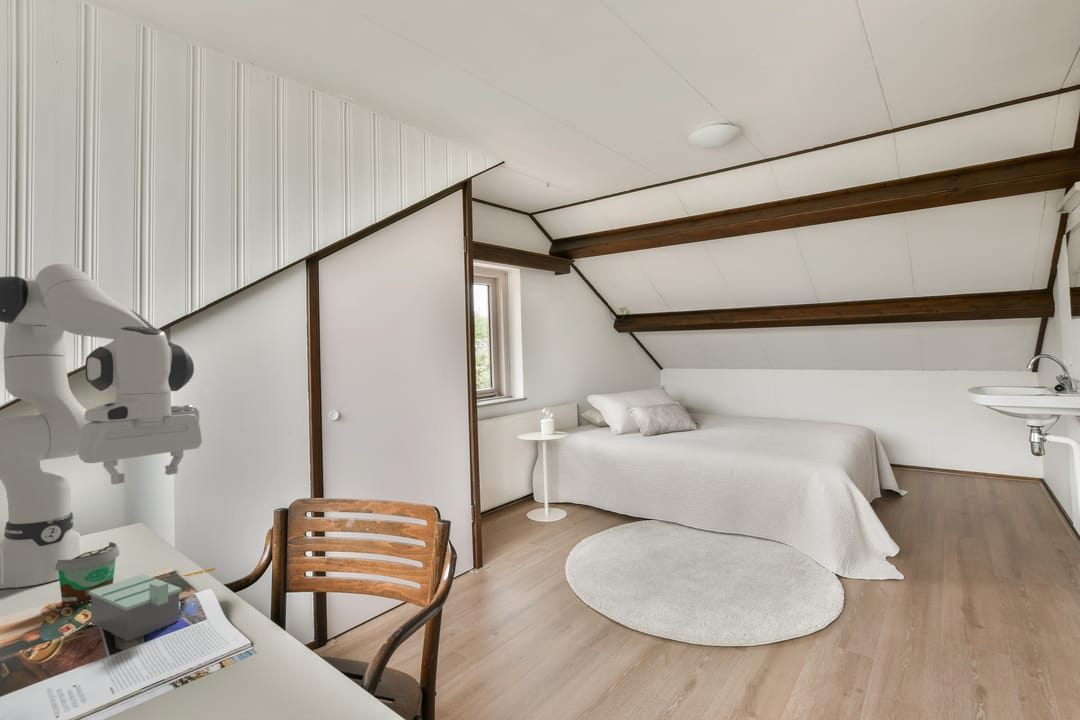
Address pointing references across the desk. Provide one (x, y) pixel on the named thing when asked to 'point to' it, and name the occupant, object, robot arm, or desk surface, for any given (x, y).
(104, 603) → the tub
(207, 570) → the pencil
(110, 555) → the food container
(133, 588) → the lid
